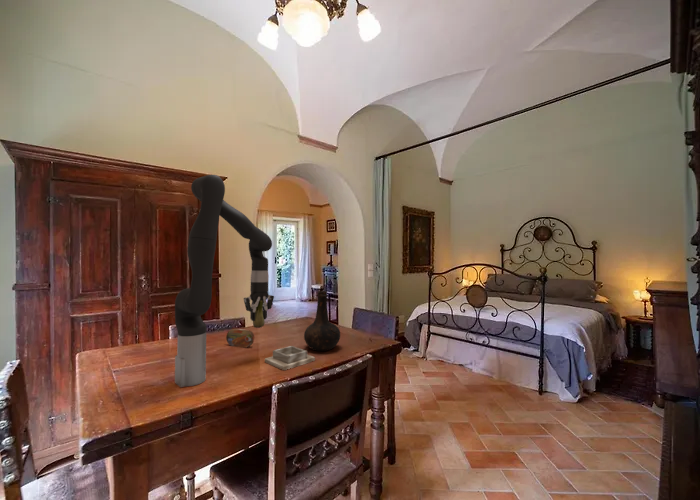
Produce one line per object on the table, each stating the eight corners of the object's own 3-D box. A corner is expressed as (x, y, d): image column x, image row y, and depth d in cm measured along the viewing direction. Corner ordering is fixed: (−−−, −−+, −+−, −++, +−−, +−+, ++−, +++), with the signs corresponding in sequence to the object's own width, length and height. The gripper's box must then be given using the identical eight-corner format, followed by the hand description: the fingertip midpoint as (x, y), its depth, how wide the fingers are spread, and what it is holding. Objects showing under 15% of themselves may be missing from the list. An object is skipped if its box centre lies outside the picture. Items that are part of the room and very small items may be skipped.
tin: (225, 345, 154) (225, 328, 154) (229, 343, 157) (230, 327, 157) (251, 348, 149) (251, 331, 149) (255, 346, 152) (255, 329, 152)
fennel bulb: (252, 326, 136) (253, 299, 136) (263, 325, 137) (264, 298, 138) (253, 329, 130) (253, 300, 130) (265, 328, 132) (265, 300, 132)
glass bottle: (323, 356, 138) (324, 294, 138) (296, 349, 148) (296, 291, 149) (347, 347, 152) (348, 291, 152) (321, 341, 163) (321, 288, 163)
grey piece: (283, 370, 121) (283, 359, 121) (264, 362, 130) (264, 351, 130) (314, 360, 132) (315, 350, 132) (295, 353, 142) (295, 343, 142)
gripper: (248, 282, 127) (247, 323, 126) (278, 280, 137) (277, 319, 136) (240, 281, 132) (239, 321, 131) (269, 279, 142) (268, 316, 142)
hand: (258, 319), depth 134 cm, fingers closed on fennel bulb, 4 cm apart
